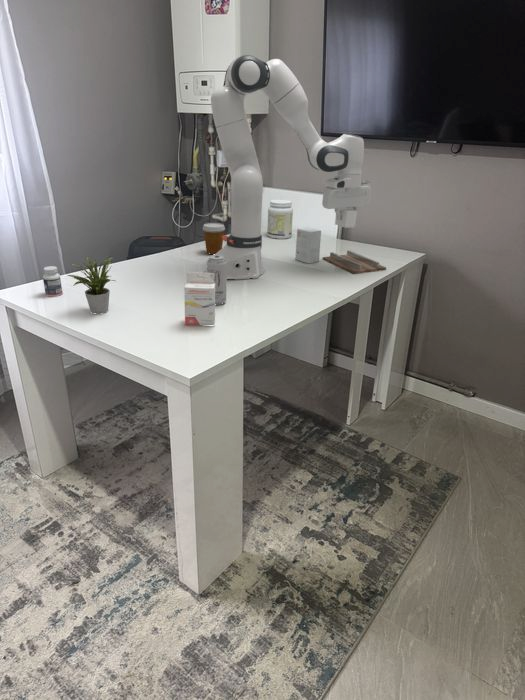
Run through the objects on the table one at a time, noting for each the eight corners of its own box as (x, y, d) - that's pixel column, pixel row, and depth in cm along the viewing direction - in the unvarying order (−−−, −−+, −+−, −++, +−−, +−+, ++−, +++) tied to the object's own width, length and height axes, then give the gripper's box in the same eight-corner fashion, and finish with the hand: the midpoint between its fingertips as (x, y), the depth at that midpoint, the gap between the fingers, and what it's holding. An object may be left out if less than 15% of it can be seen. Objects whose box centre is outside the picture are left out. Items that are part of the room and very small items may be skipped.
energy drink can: (205, 305, 160) (204, 258, 153) (209, 298, 165) (209, 253, 159) (224, 306, 159) (224, 260, 153) (228, 300, 164) (228, 255, 158)
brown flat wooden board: (353, 274, 195) (354, 266, 194) (322, 259, 213) (322, 252, 211) (385, 269, 202) (387, 262, 201) (353, 255, 219) (353, 249, 218)
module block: (345, 227, 189) (347, 211, 186) (335, 224, 195) (336, 208, 192) (355, 226, 191) (356, 210, 188) (344, 223, 197) (346, 207, 194)
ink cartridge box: (184, 326, 144) (182, 276, 137) (186, 319, 148) (184, 271, 142) (214, 326, 144) (214, 277, 138) (215, 320, 149) (215, 272, 142)
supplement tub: (280, 232, 256) (281, 198, 248) (296, 237, 248) (299, 202, 240) (261, 235, 249) (263, 200, 241) (278, 240, 240) (280, 204, 233)
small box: (319, 261, 210) (321, 230, 204) (308, 264, 206) (310, 232, 200) (305, 257, 215) (307, 226, 209) (294, 259, 211) (296, 228, 206)
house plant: (96, 298, 162) (91, 248, 155) (133, 305, 157) (129, 254, 150) (66, 313, 150) (58, 259, 143) (104, 321, 145) (98, 266, 138)
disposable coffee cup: (204, 249, 220) (204, 222, 215) (226, 250, 220) (226, 223, 215) (201, 255, 212) (200, 227, 206) (223, 256, 212) (223, 228, 206)
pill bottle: (45, 292, 165) (41, 266, 161) (62, 291, 167) (58, 265, 163) (45, 297, 161) (41, 270, 157) (62, 296, 163) (59, 269, 159)
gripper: (366, 179, 193) (362, 215, 199) (321, 181, 184) (318, 219, 190) (376, 181, 188) (372, 218, 194) (331, 183, 179) (328, 222, 185)
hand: (345, 219), depth 192 cm, fingers closed on module block, 4 cm apart
